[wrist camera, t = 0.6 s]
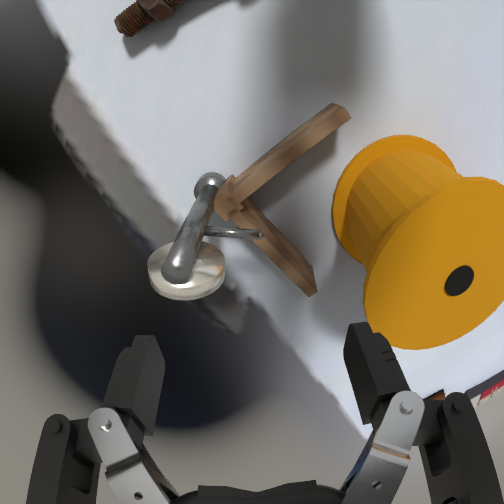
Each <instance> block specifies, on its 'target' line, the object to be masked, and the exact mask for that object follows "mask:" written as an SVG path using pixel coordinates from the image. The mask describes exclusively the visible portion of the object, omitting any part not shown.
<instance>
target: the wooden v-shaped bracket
mask: <svg viewBox="0 0 504 504" xmlns="http://www.w3.org/2000/svg"><path fill="white" fill-rule="evenodd" d="M351 118H352V117H351V116H350V115H349V113H348V112H347V111H346V109H345V108H344V107H342V106H339V105H337V104H334V103H331V104H330V105H328V106H327V107H326V108H324V109H323V110H322V111H320V112H319V113H318V114H316V115H315V116H314V117H312V118H311V119H310V120H308V121H307V122H306V123H304V124H303V125H302V126H300V127H299V128H298V129H296V130H295V131H294V132H292V133H291V134H290V135H289V136H287V137H286V138H285V139H283V140H282V141H281V142H280V143H278V144H277V145H276V146H275V147H273V148H272V149H271V150H270V151H268V152H267V153H266V154H265V155H263V156H262V157H261V158H260V159H258V160H257V161H256V162H255V163H254V164H252V165H251V166H250V167H249V168H247V169H246V170H245V171H244V172H243V173H241V174H240V175H239V176H238V177H237V178H235V177H234V176H233V175H231V176H230V177H228V178H227V179H226V181H225V183H224V185H223V186H222V187H221V188H219V189H218V192H217V194H216V197H215V199H214V211H215V212H216V213H217V214H218V215H219V216H220V217H221V218H222V219H223V220H224V221H225V222H227V221H228V220H229V219H231V220H232V221H233V222H234V223H235V224H236V225H237V226H238V227H239V228H243V229H256V230H262V231H263V232H264V237H263V238H262V239H260V240H259V239H251V240H252V241H253V242H254V243H255V244H256V245H257V246H258V247H259V248H260V249H261V250H262V251H263V252H264V253H265V254H266V255H267V256H268V257H269V258H270V259H271V260H272V261H273V262H274V263H275V264H276V265H277V266H278V267H279V268H280V269H281V270H282V271H283V272H284V273H285V274H286V275H287V276H288V277H289V278H290V279H291V280H292V281H293V282H294V283H295V284H296V285H297V286H298V287H299V288H300V289H301V290H302V291H303V292H304V293H305V294H306V295H307V296H308V297H310V296H312V295H314V294H315V293H317V288H316V283H315V278H314V273H313V268H312V266H311V265H310V264H309V263H308V262H307V261H306V260H305V258H304V257H303V256H302V255H301V254H300V253H299V252H298V251H297V250H296V249H295V248H294V247H293V245H292V244H291V243H290V242H289V241H288V240H287V239H286V238H285V237H284V236H283V235H282V234H281V232H280V231H279V230H278V229H277V228H276V227H275V226H274V225H273V224H272V223H271V222H270V221H269V220H268V219H267V218H266V217H265V215H264V214H263V213H262V212H261V211H260V210H259V209H258V208H257V207H256V206H255V205H254V204H253V203H252V202H251V201H250V200H249V199H248V198H247V197H248V196H250V195H251V194H252V193H253V192H255V191H256V190H257V189H258V188H260V187H261V186H262V185H263V184H265V183H266V182H267V181H268V180H270V179H271V178H272V177H274V176H275V175H276V174H277V173H279V172H280V171H281V170H283V169H284V168H285V167H286V166H288V165H289V164H290V163H292V162H293V161H294V160H296V159H297V158H298V157H299V156H301V155H302V154H303V153H305V152H306V151H307V150H309V149H310V148H311V147H313V146H314V145H315V144H317V143H318V142H319V141H321V140H322V139H323V138H325V137H326V136H327V135H329V134H330V133H331V132H333V131H334V130H336V129H337V128H338V127H340V126H341V125H342V124H344V123H345V122H347V121H348V120H349V119H351Z"/></svg>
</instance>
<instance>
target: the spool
mask: <svg viewBox="0 0 504 504" xmlns="http://www.w3.org/2000/svg"><path fill="white" fill-rule="evenodd" d="M332 217H333V224H334V227H335V231H336V234H337V237H338V239H339V240H340V242H341V244H342V246H343V248H344V249H345V250H346V251H347V252H348V253H349V254H350V256H352V257H353V258H354V259H356V260H357V261H359V262H360V263H362V264H363V265H364V267H365V269H366V272H367V275H366V278H365V282H364V290H363V304H364V310H365V315H366V318H367V321H368V323H369V325H370V327H371V329H372V331H373V332H374V333H378V332H380V333H381V334H382V335H383V336H384V337H385V338H386V339H387V340H388V341H389V343H390V345H391V346H394V347H397V348H401V349H410V350H420V349H428V348H433V347H437V346H440V345H444V344H446V343H449V342H451V341H453V340H456V339H458V338H460V337H461V336H463V335H465V334H467V333H468V332H470V331H472V330H473V329H474V328H476V327H477V326H478V325H480V324H481V323H482V322H483V321H485V320H486V319H487V318H488V317H489V316H490V315H491V314H492V313H493V312H494V311H495V310H496V309H497V308H498V306H499V305H500V304H501V303H502V302H503V300H504V186H503V185H502V184H500V183H499V182H497V181H495V180H492V179H488V178H484V177H463V176H462V175H460V174H459V173H457V172H456V169H455V167H454V165H453V163H452V161H451V160H450V159H449V158H448V156H447V155H446V154H445V152H443V151H442V150H441V149H440V148H439V147H437V146H436V145H435V144H433V143H431V142H429V141H427V140H425V139H422V138H420V137H415V136H410V135H394V136H390V137H387V138H383V139H380V140H378V141H376V142H374V143H372V144H370V145H368V146H367V147H365V148H364V149H363V150H362V151H360V152H359V153H358V154H357V155H355V157H354V158H353V159H352V160H351V161H350V163H349V164H348V165H347V166H346V168H345V169H344V171H343V173H342V175H341V176H340V178H339V180H338V183H337V186H336V189H335V192H334V196H333V203H332Z"/></svg>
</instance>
